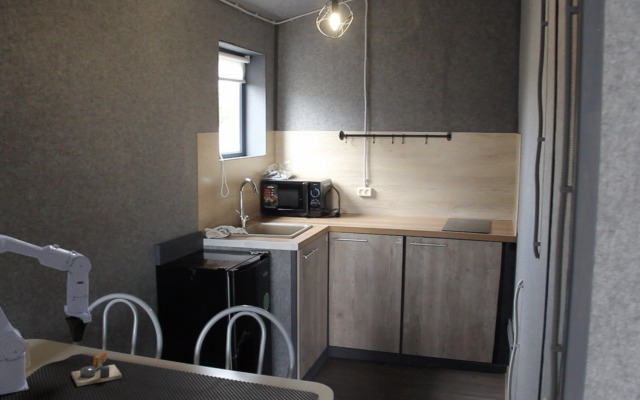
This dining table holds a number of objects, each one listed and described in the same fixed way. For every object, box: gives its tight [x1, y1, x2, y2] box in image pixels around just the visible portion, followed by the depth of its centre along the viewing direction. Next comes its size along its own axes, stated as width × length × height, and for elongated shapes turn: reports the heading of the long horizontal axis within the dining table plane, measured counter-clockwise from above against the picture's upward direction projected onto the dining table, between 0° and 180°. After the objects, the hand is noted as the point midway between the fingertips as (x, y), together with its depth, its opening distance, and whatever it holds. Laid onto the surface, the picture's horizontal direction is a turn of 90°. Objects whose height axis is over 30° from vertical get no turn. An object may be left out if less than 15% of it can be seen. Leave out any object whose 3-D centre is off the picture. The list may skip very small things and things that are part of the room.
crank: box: [79, 351, 107, 378], centre depth 157 cm, size 12×4×3 cm, turn 175°
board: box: [70, 364, 123, 387], centre depth 156 cm, size 12×9×1 cm
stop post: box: [100, 365, 109, 378], centre depth 153 cm, size 2×2×3 cm
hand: (77, 341), depth 156 cm, fingers closed
